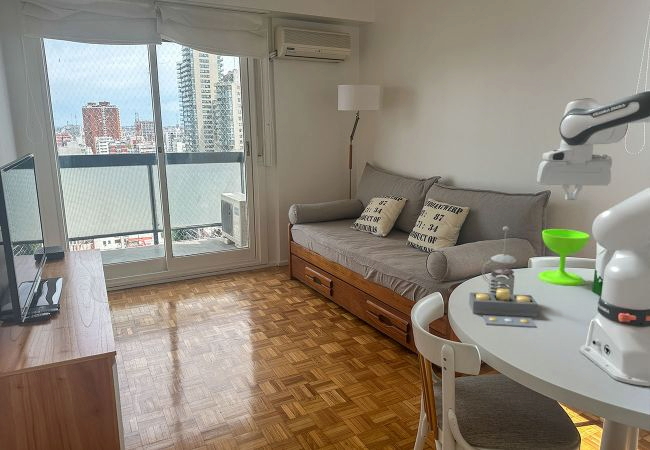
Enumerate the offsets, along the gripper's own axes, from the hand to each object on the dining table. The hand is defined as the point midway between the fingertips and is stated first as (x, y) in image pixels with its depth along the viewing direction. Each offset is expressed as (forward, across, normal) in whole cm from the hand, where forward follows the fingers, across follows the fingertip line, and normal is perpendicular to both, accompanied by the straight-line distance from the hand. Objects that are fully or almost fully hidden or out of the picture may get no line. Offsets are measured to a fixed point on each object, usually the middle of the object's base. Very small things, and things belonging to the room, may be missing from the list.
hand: (570, 199), depth 140 cm
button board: (+35, +19, +10) cm, 41 cm away
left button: (+34, +25, +6) cm, 42 cm away
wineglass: (+35, -10, -30) cm, 47 cm away
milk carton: (+35, -20, -14) cm, 43 cm away
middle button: (+32, +19, +6) cm, 37 cm away
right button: (+34, +13, +6) cm, 36 cm away
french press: (+35, +18, -6) cm, 40 cm away
